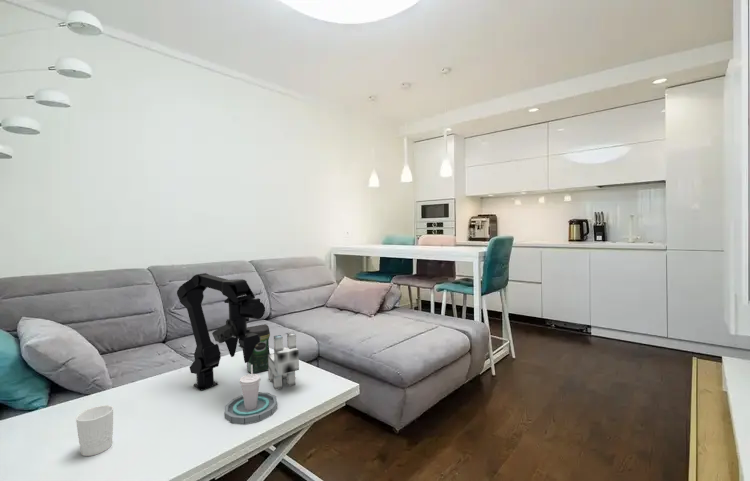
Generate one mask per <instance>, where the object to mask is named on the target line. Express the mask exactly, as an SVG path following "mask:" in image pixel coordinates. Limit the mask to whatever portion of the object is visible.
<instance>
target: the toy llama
mask: <svg viewBox="0 0 750 481" xmlns="http://www.w3.org/2000/svg"><path fill="white" fill-rule="evenodd" d="M286 335H287V338H286V339H287V347H285V346H284V345H283V344H284V343H283V340H284V339H283V335H280V334H279V335H274V336H273V353H270V354H268V370H267V371H268V381H269V382H270V383H271V382H273V389H274V390H275V391H277V390H280V389H283V380H284V379H286V385H287V387H292V386H296V371H297V372H298V371H300V359H299V357H300V356H299V355H300V353H299V351H300V350H299V348H297V333H295V332H290V333H289V332H288V333H287V334H286Z"/></svg>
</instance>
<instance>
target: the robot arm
mask: <svg viewBox="0 0 750 481" xmlns="http://www.w3.org/2000/svg"><path fill="white" fill-rule="evenodd" d="M207 289H212V290H215V291H219V292H220V293H221V294H222V295H223V296H224V297H226V299H225V300H224V301H223V303H224V304H228V319H226V320H225V324H224V325H222V326H221V327H219V328H217V329H216V330H214V331H212V332H211V334H212V336H213V339H214V341H215V342H218V343H214V342H213V341H212V340H211V336H210V333H209V328H208V325H207V321H206V318H205V313H204V310H203V306H202V303H203V300H204V296H205V295H204V292H205V290H207ZM176 295H177V297H178V300H179V303H180V304H181V305H182V306H183V307H184V308H186V311H187V314H188V318H189V322H190V325H191V329H192V333H193V338H194V340H195V345H196V347H195V350H194V354H193V357H194V361H193V362H192V364H191V365H189V370H190V373H191V374H195V375H196V383H194V384H192V385H193V388H195V389H197V390H199V391H204V390H206V389H209V388H212V387H215V386H217V385H218V382H217V381H216V380H214V369H215V368H218V367H219V364H220V361H221V359H222V358H221V355H222V353H221V351H220V346H219V344H223V343H225V346H226V347H227V350H228V353H229V355H230V357H231V358H233V357H235V355H236V351H237V346H238V347H239V348H241V349H242V355H243V362H244V363H245V364H247V362H248V361H249V359H250V357H251V354H252V352H253V350H254V348H255V346H256V345H257V344H258V343H260V342H261V341H260V336H259V335H258V334H255V333H250V334H246V333H249V329H247V327H248V325H247V324H248V322H250V319H254V320H260V319H262V318H263V317H264V315H265V313H266V307H265V305H264V303H263V302H261V299H260V298H258V297H257V298H256V295H255V294H254V292H253V291H252V289H251V287H250V285H249V284H248V283H247V280H245V279H243V278H242V279H240V278H239V279H238V278H237V279H227V278H222V277H219V276H215V275H211V274H208V273H206V272H205V273H204V272H203V273H197V274H195V275H193V276H192V277H191V278H190V279H188V280H187V281H185V282H184V283H183V284H182V285H180V286H179V287H178V289H177V291H176ZM238 344H239V345H238Z"/></svg>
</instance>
